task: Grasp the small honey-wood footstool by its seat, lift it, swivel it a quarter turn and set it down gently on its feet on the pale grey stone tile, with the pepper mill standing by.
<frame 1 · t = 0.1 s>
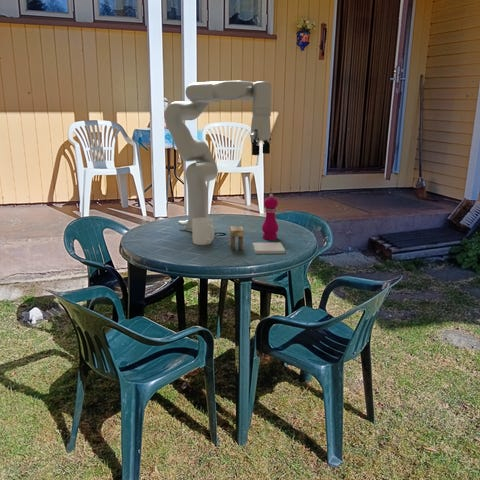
hand: (260, 154, 209), 37 cm above the table, tool pointing down, fingers open, 9 cm apart
tile: (268, 249, 203), on the table
pepper mill: (269, 238, 220), on the table
cup: (205, 243, 211), on the table
stool: (236, 248, 204), on the table
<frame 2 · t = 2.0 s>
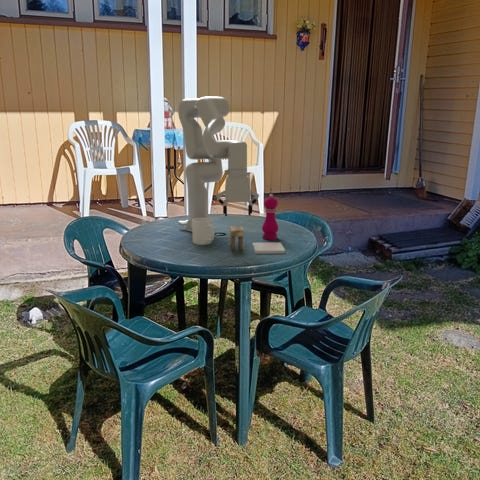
hand: (237, 215, 200), 14 cm above the table, tool pointing down, fingers open, 9 cm apart
nothing on the table moved.
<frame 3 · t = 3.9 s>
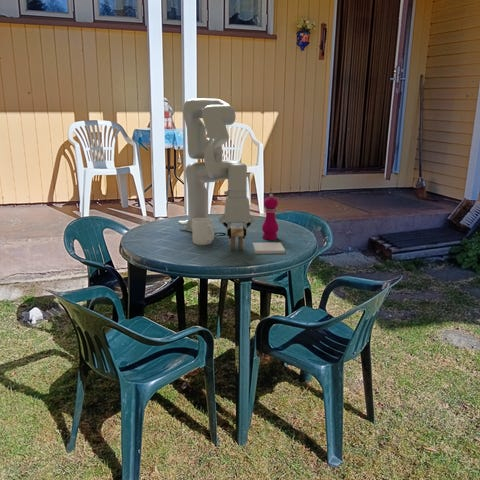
hand: (236, 237, 203), 5 cm above the table, tool pointing down, fingers closed on stool, 5 cm apart
stool: (236, 248, 204), on the table, touching gripper
everything else where it was.
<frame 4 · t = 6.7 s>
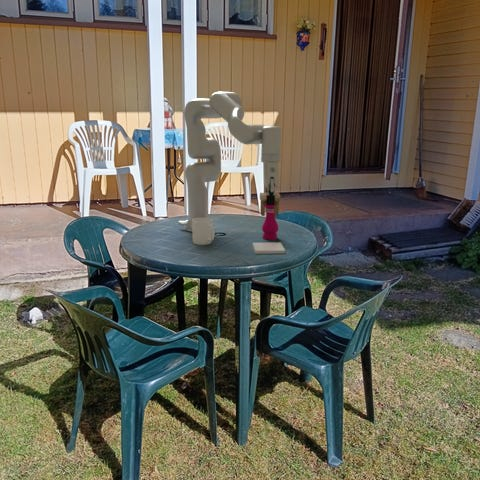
hand: (269, 203, 198), 19 cm above the table, tool pointing down, fingers closed on stool, 5 cm apart
stool: (269, 214, 199), point 15 cm above the table, touching gripper
everything else where it was.
when the fingers open (7 cm above the table, at t = 9.7 s): stool drops 1 cm, resting on tile.
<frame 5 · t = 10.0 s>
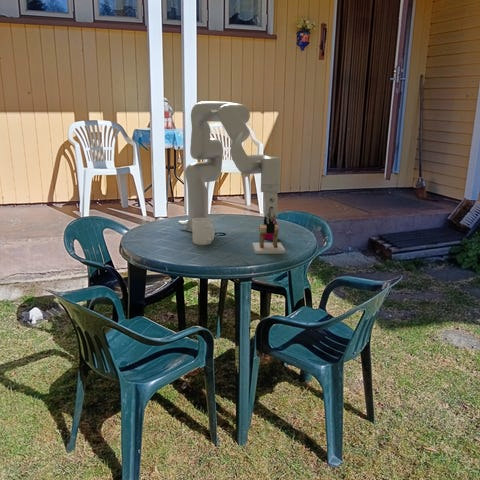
hand: (268, 230, 201), 8 cm above the table, tool pointing down, fingers open, 8 cm apart
stool: (268, 246, 203), point 1 cm above the table, touching tile
everything else where it was.
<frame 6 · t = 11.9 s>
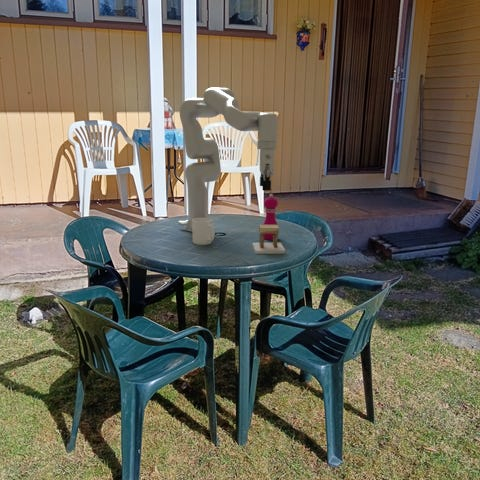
hand: (265, 188, 199), 25 cm above the table, tool pointing down, fingers open, 9 cm apart
nothing on the table moved.
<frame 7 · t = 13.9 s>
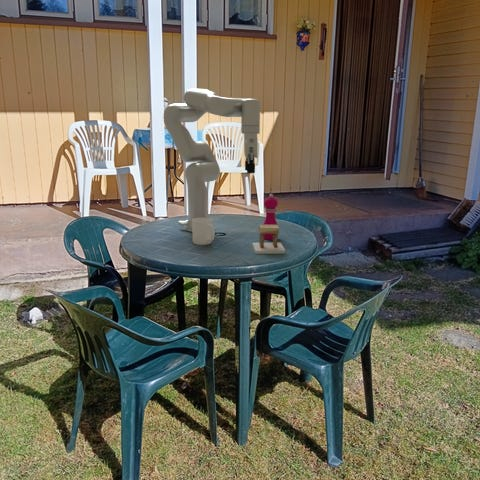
hand: (249, 171, 207), 30 cm above the table, tool pointing down, fingers open, 9 cm apart
nothing on the table moved.
at the end: stool inside the target area on the tile (0.3 cm from its centre), point 1.2 cm above the tile's base; stool tilted 0°; the gripper is holding nothing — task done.
